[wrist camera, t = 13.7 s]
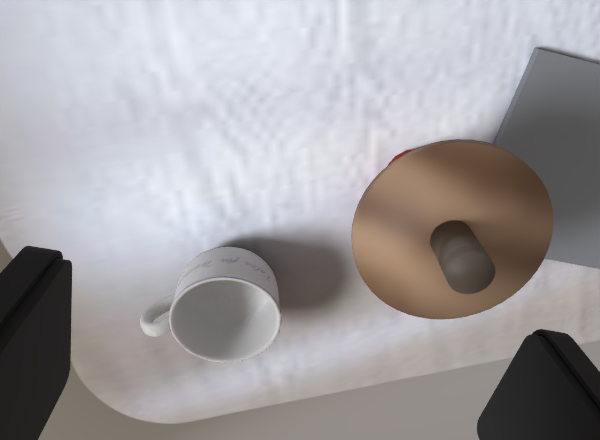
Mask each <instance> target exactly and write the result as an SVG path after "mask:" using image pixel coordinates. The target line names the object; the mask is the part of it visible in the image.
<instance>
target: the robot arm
mask: <svg viewBox="0 0 600 440" xmlns="http://www.w3.org/2000/svg"><path fill="white" fill-rule="evenodd" d="M71 297H72V263H71V261H69V260H63V256H62V253H61V252H60V251H57V250H51V249H45V248H39V247H32V246H26V247H24V248H23V249H22V250H21V251H20V252H19V253H18V254H17V256H16V257H15V258H14V259H13V260H12V261H11V262H10V263H9V264H8V266H7V267H6V268H5V269H4V270H3V271H2V272H1V273H0V440H38V438H39V436H40V434H41V432H42V430H43V428H44V426H45V424H46V423H47V421H48V419H49V417H50V415H51V413H52V411H53V409H54V407H55V405H56V403H57V401H58V399H59V397H60V395H61V393H62V391H63V389H64V387H65V385H66V382H67V379H68V376H69V371H70V354H71ZM477 433H478V436H479V439H480V440H600V372H599V371H598V369H597V368H596V367H595V366H594V364H593V363H592V362H591V361H590V359H589V358H588V357H587V356H586V355H585V353H584V352H583V351H582V350H581V348H580V347H579V346H578V345H577V343H576V342H575V341H574V340H573V339H572V338H571V337H570V336H569V335H568V334H565V333H561V332H555V331H549V330H543V329H540V330H536V331H535V332H533V334H532V335H528V336H527V337H526V338H525V339H524V341H523V343H522V344H521V346H520V348H519V350H518V351H517V353H516V355H515V357H514V358H513V360H512V362H511V364H510V365H509V367H508V369H507V371H506V372H505V374H504V376H503V377H502V379H501V381H500V383H499V385H498V386H497V388H496V390H495V391H494V393H493V395H492V397H491V399H490V400H489V402H488V403H487V405H486V407H485V409H484V410H483V412H482V414H481V416H480V417H479V420H478V423H477Z"/></svg>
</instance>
